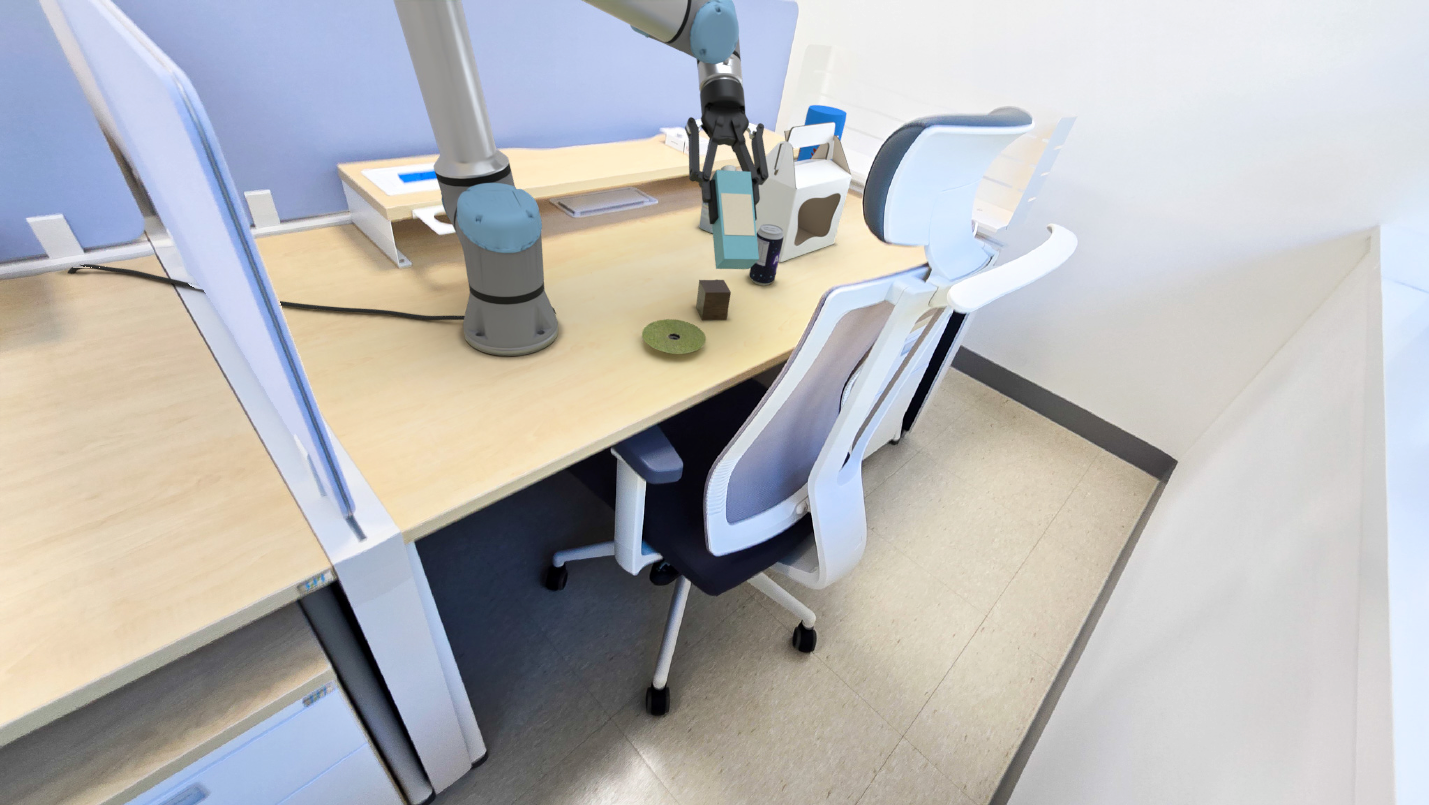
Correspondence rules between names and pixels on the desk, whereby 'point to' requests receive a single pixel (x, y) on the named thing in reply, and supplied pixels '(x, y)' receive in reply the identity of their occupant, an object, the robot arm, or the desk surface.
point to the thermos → (822, 115)
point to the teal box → (734, 220)
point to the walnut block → (713, 299)
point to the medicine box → (705, 218)
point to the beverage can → (767, 254)
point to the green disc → (673, 336)
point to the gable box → (805, 190)
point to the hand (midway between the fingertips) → (733, 221)
